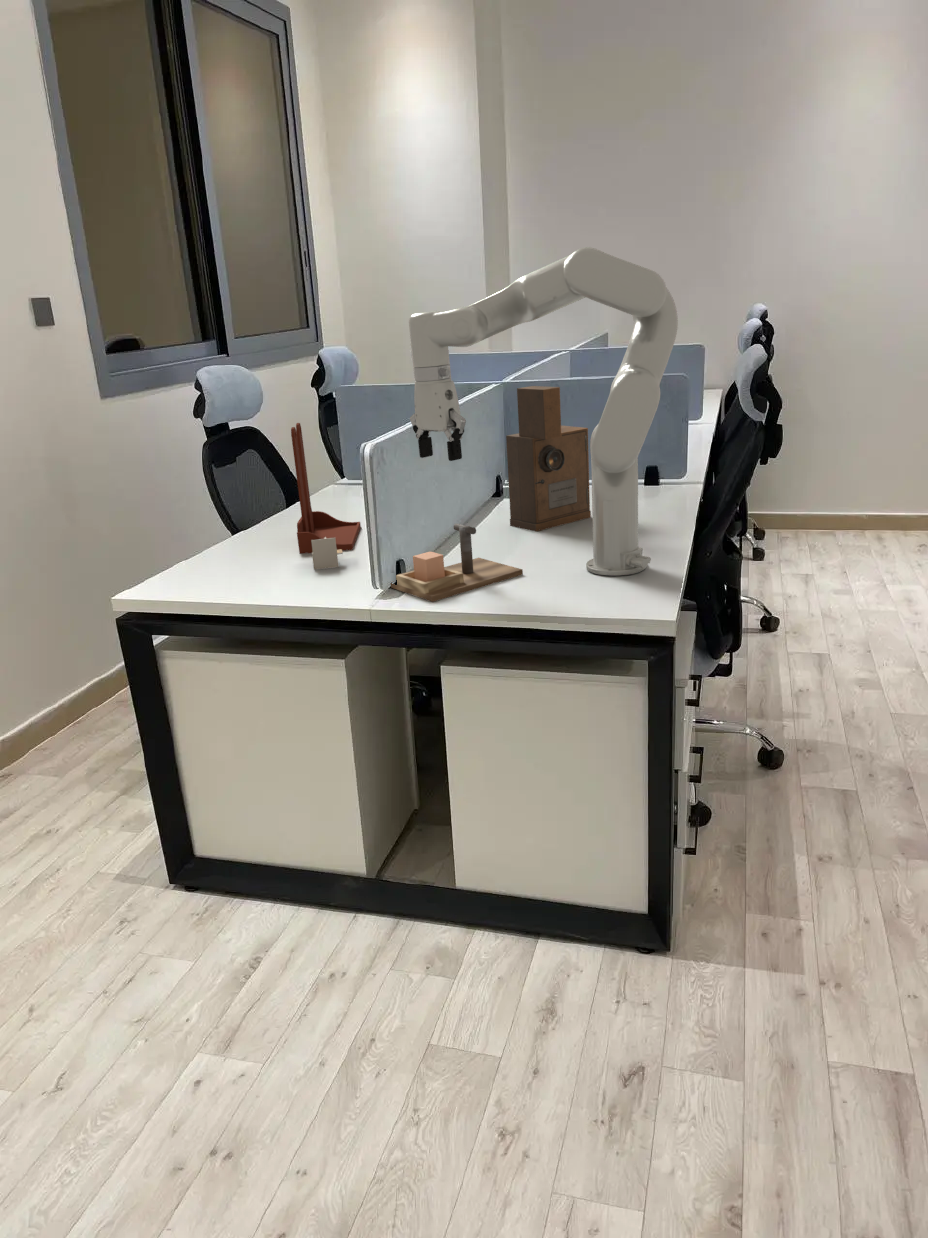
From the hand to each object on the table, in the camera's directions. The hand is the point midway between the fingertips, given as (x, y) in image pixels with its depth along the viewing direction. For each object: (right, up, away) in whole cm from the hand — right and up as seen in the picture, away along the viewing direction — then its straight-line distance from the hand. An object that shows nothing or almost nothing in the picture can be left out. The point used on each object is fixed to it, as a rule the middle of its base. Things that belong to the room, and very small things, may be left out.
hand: (440, 458), depth 196 cm
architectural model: (-27, -22, +20) cm, 41 cm away
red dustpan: (-29, -14, +45) cm, 55 cm away
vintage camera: (+27, -9, +46) cm, 54 cm away
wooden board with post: (+3, -26, +2) cm, 26 cm away
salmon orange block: (-2, -26, -3) cm, 27 cm away
